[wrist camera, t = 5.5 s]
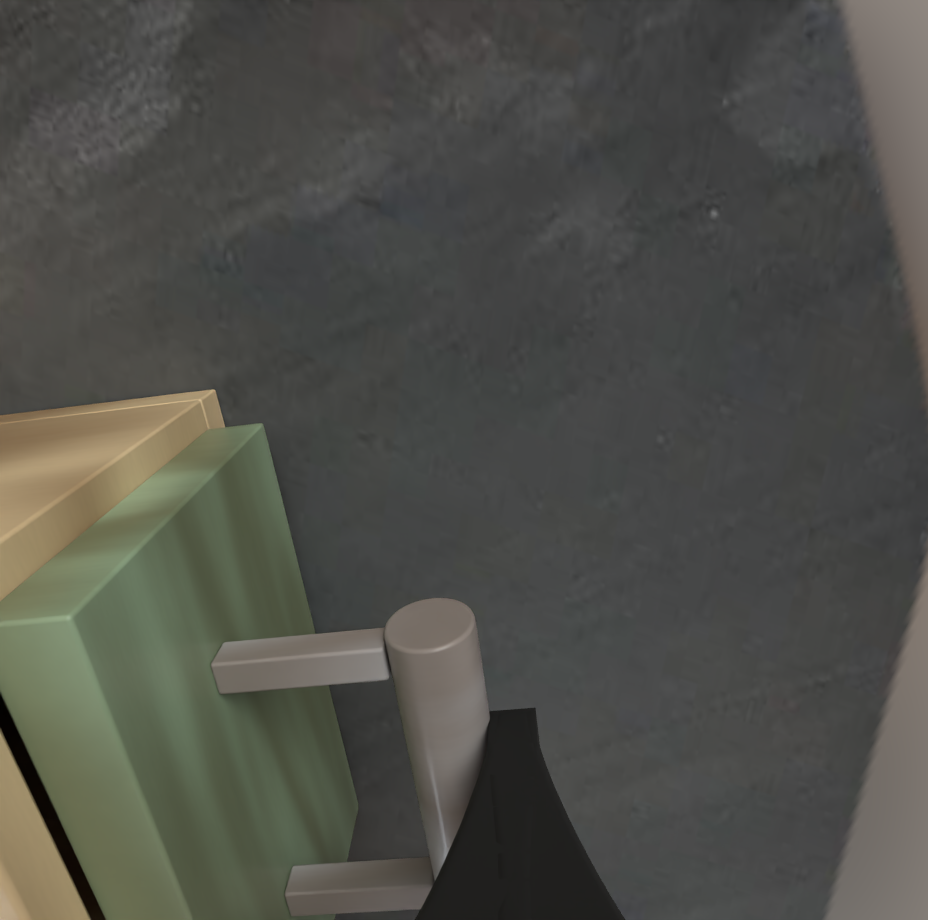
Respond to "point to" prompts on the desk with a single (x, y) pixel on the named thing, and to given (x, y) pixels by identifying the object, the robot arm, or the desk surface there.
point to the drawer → (222, 707)
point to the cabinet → (40, 539)
